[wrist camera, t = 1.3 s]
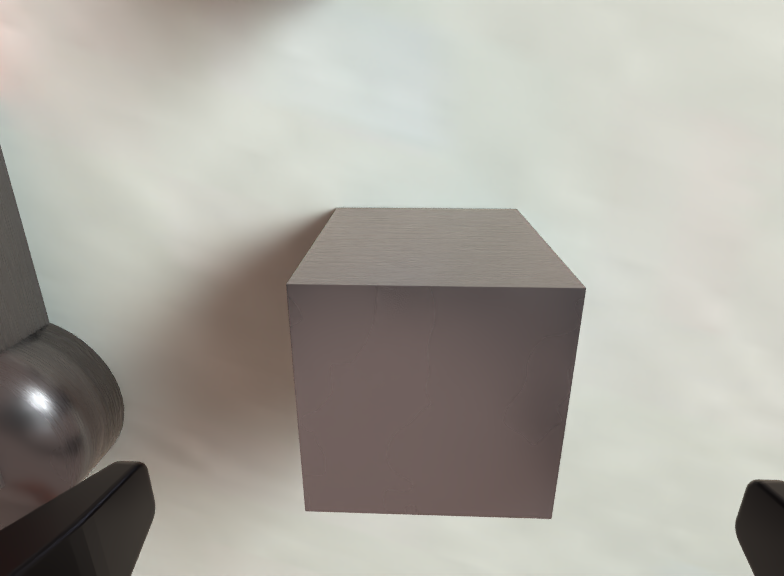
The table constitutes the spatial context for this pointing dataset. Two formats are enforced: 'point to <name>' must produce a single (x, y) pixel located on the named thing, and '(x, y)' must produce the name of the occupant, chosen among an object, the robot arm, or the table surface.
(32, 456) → the ratchet
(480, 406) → the grey cubic block
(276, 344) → the table surface
